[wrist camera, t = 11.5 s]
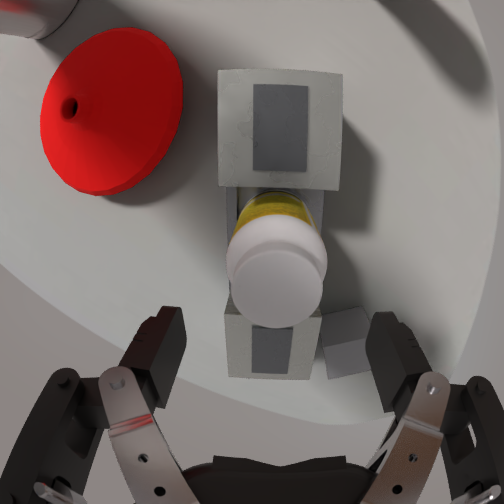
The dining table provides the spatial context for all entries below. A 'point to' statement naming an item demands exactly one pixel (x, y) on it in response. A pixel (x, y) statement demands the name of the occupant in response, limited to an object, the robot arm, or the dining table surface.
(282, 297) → the pill bottle
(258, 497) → the robot arm
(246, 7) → the dining table surface
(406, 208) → the dining table surface
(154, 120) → the red disc with nozzle
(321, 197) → the white twin-block stand
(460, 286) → the dining table surface
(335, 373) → the gray block
